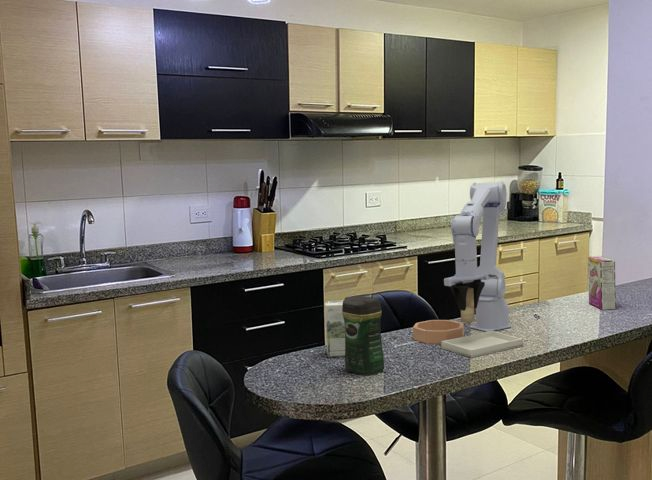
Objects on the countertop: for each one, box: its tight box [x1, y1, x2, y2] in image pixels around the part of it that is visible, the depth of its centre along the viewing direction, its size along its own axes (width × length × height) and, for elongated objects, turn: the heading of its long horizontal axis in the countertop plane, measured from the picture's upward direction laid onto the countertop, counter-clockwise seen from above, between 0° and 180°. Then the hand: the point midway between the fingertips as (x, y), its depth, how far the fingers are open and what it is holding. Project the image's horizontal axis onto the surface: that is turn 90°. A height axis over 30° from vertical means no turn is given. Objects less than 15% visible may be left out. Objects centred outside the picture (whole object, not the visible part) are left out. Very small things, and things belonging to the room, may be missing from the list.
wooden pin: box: [460, 288, 476, 324], centre depth 177 cm, size 4×4×9 cm
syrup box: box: [324, 299, 345, 358], centre depth 174 cm, size 6×6×14 cm
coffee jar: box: [342, 295, 385, 376], centre depth 158 cm, size 10×8×19 cm
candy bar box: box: [587, 255, 617, 311], centre depth 215 cm, size 11×5×16 cm, turn 179°
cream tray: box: [441, 330, 524, 359], centre depth 174 cm, size 18×12×2 cm, turn 118°
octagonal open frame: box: [412, 319, 465, 345], centre depth 187 cm, size 14×14×4 cm
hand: (467, 308), depth 177 cm, fingers closed on wooden pin, 4 cm apart
